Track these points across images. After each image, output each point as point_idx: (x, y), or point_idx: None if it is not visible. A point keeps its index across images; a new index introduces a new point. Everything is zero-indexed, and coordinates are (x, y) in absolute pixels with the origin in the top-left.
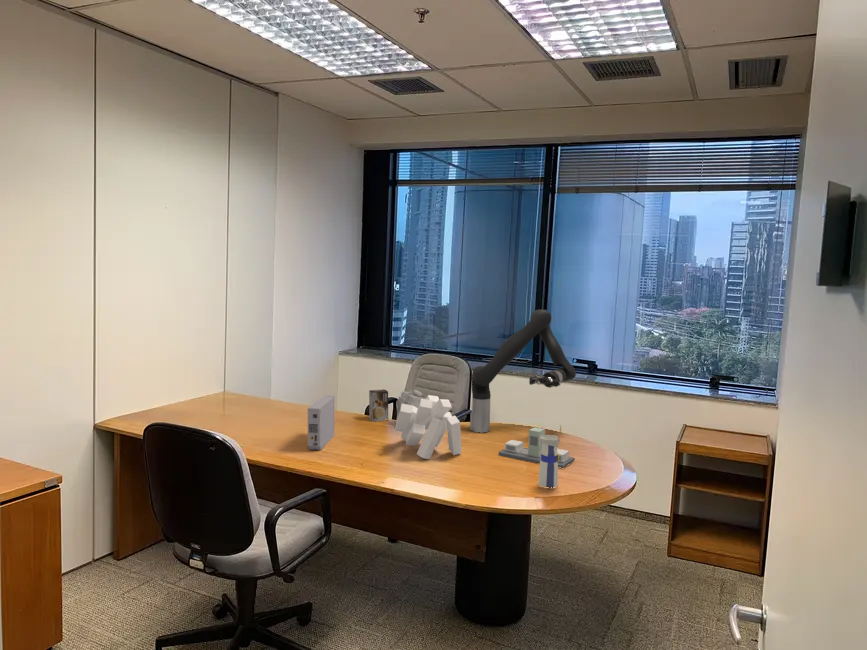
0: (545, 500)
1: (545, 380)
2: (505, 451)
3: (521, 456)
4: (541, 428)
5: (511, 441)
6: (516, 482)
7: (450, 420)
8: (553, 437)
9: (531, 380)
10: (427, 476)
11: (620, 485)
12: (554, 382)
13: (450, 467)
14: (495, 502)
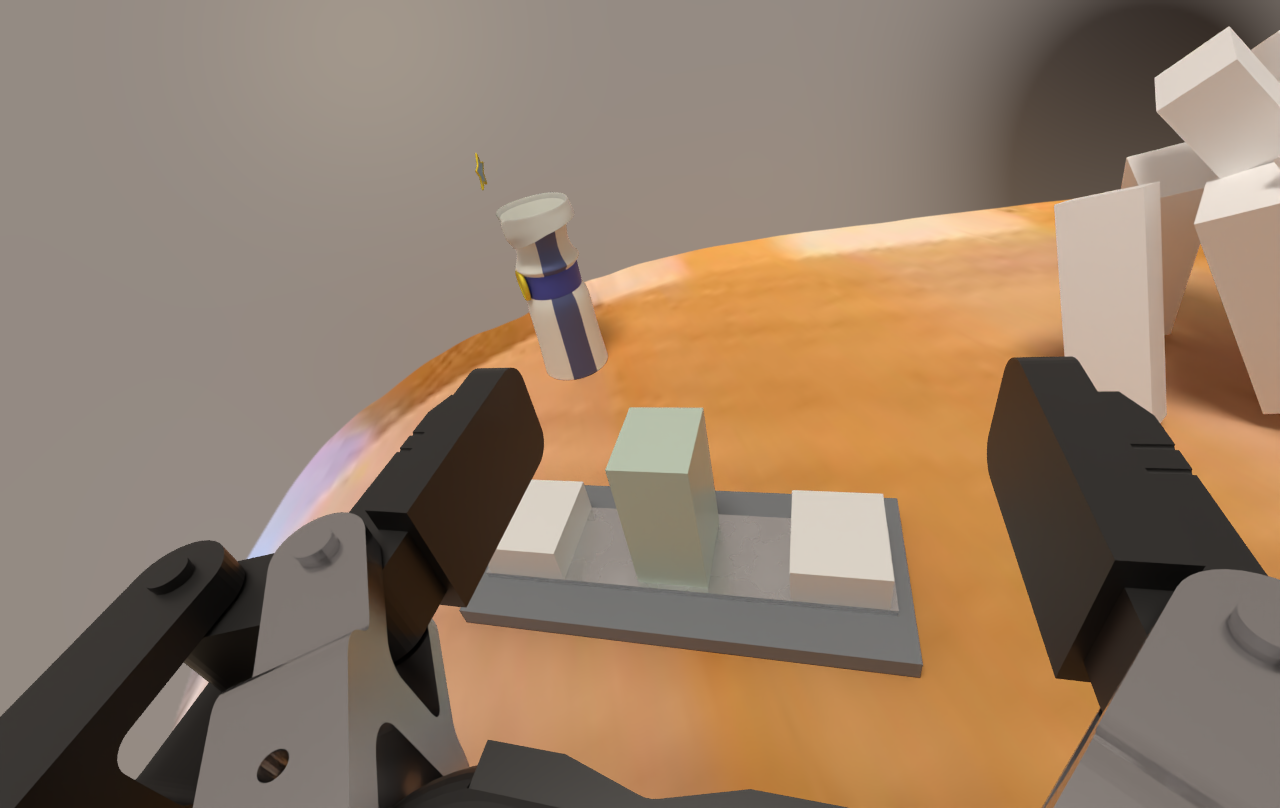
0: None
1: (581, 766)
2: None
3: (746, 496)
4: (632, 469)
5: (869, 544)
6: (675, 339)
7: (1117, 190)
8: (519, 225)
9: (1016, 363)
10: (947, 265)
11: (334, 453)
12: (257, 572)
13: (954, 326)
14: (683, 259)
